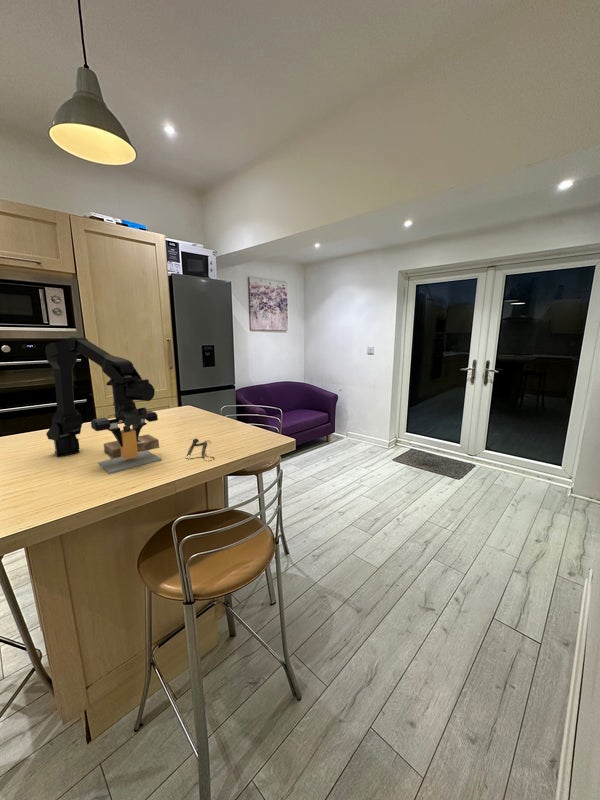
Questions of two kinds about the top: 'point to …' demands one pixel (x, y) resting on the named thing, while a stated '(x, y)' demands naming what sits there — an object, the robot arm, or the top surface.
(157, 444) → the socket block
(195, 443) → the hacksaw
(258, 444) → the top surface
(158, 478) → the top surface
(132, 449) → the plug
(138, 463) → the mat
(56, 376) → the robot arm
